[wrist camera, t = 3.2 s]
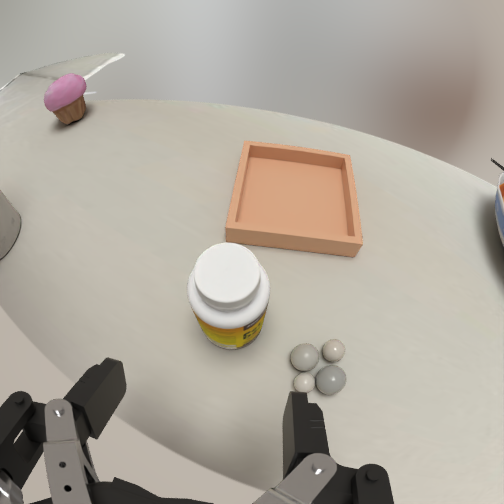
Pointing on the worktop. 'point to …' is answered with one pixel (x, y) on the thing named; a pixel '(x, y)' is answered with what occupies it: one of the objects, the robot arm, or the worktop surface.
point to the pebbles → (329, 376)
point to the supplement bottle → (229, 295)
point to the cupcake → (66, 98)
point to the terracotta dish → (295, 200)
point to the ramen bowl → (500, 204)
